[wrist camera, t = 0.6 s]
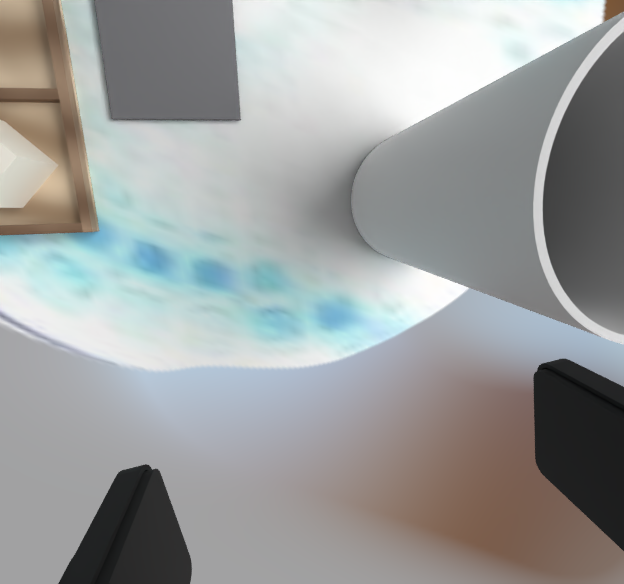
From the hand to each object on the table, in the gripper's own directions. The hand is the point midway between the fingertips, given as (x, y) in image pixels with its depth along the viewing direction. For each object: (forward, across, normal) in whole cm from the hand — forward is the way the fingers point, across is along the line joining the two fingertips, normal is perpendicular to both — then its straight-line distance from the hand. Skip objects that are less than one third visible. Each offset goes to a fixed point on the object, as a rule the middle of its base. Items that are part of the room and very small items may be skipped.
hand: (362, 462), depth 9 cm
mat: (+29, +6, -20) cm, 36 cm away
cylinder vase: (+29, -14, -4) cm, 33 cm away
